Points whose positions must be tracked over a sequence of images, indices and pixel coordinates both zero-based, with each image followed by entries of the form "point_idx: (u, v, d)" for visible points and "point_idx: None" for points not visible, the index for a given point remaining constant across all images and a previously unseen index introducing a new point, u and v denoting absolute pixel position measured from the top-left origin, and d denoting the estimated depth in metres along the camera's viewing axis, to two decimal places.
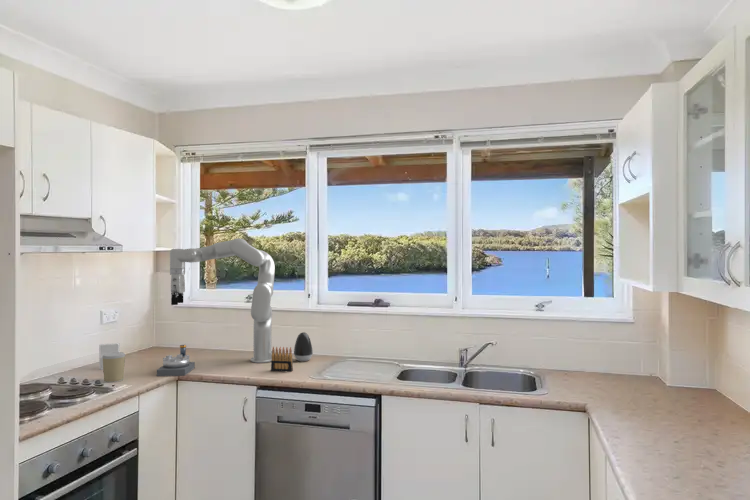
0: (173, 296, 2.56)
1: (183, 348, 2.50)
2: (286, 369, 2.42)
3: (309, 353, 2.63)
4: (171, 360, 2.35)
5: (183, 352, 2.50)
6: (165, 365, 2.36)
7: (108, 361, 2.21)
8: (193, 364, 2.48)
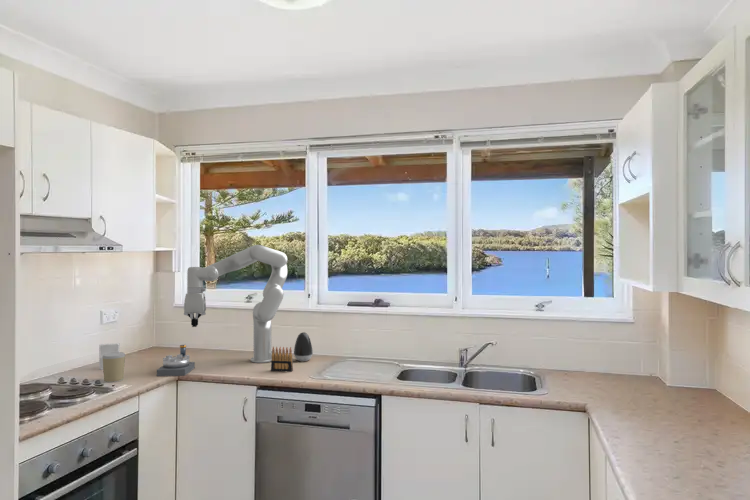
0: (198, 317, 2.52)
1: (183, 348, 2.50)
2: (286, 369, 2.42)
3: (309, 353, 2.63)
4: (171, 360, 2.35)
5: (183, 352, 2.50)
6: (165, 365, 2.36)
7: (108, 361, 2.21)
8: (193, 364, 2.48)
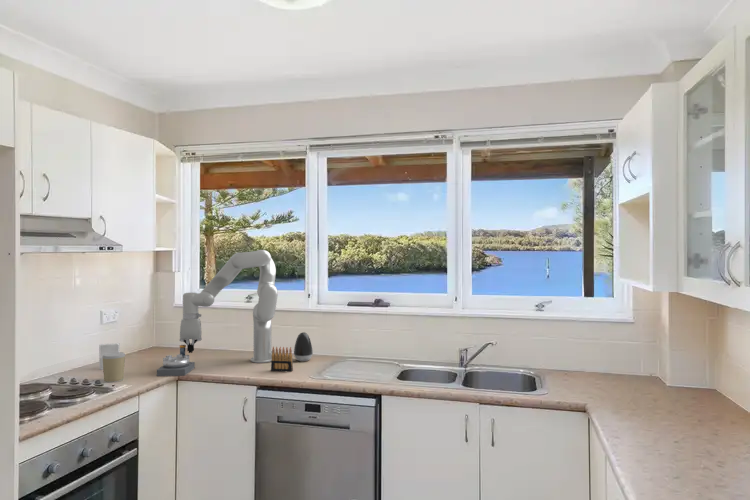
0: (194, 343, 2.52)
1: (183, 348, 2.50)
2: (286, 369, 2.42)
3: (309, 353, 2.63)
4: (171, 360, 2.35)
5: (183, 352, 2.50)
6: (165, 365, 2.36)
7: (108, 361, 2.21)
8: (193, 364, 2.48)
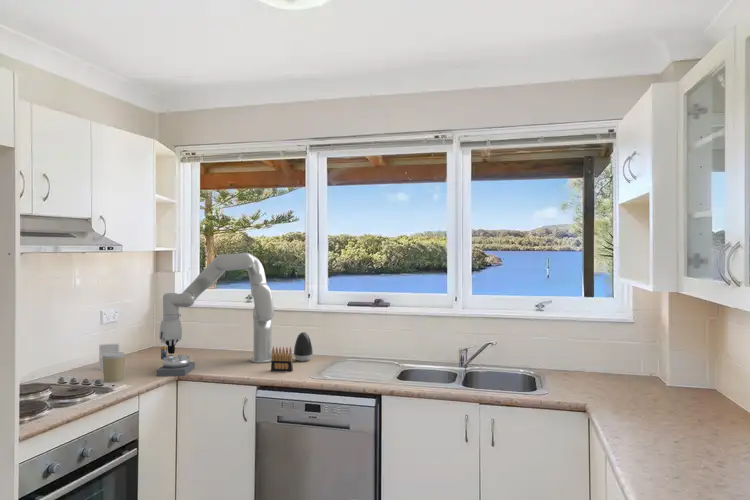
0: None
1: (166, 349, 2.47)
2: (286, 369, 2.42)
3: (309, 353, 2.63)
4: (182, 359, 2.37)
5: (166, 354, 2.47)
6: (175, 365, 2.35)
7: (108, 361, 2.21)
8: (193, 364, 2.48)
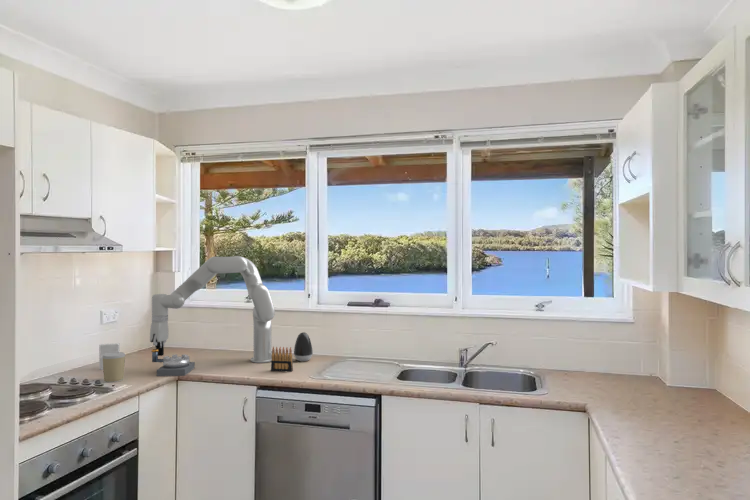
0: None
1: (157, 352, 2.41)
2: (286, 369, 2.42)
3: (309, 353, 2.63)
4: (188, 358, 2.40)
5: (157, 356, 2.41)
6: (183, 364, 2.37)
7: (108, 361, 2.21)
8: (193, 364, 2.48)
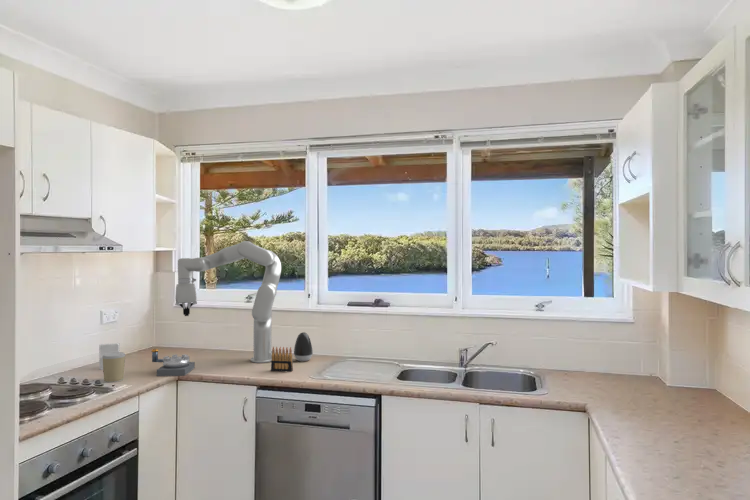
0: None
1: (157, 352, 2.41)
2: (286, 369, 2.42)
3: (309, 353, 2.63)
4: (188, 358, 2.40)
5: (157, 356, 2.41)
6: (183, 364, 2.37)
7: (108, 361, 2.21)
8: (193, 364, 2.48)
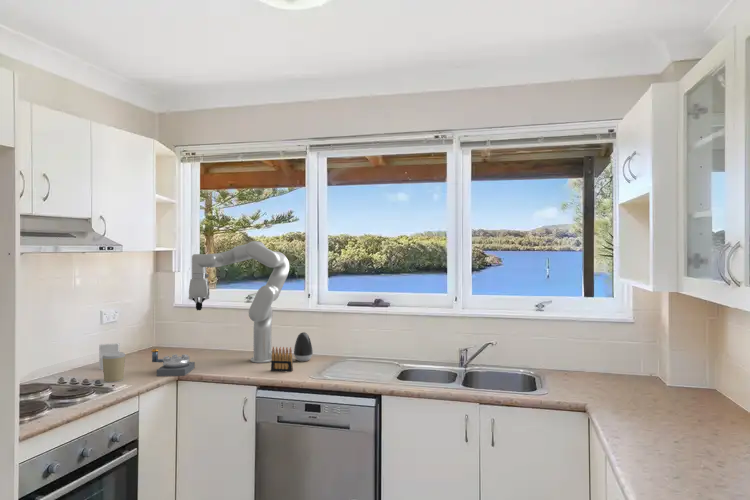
0: (202, 301, 2.68)
1: (157, 352, 2.41)
2: (286, 369, 2.42)
3: (309, 353, 2.63)
4: (188, 358, 2.40)
5: (157, 356, 2.41)
6: (183, 364, 2.37)
7: (108, 361, 2.21)
8: (193, 364, 2.48)
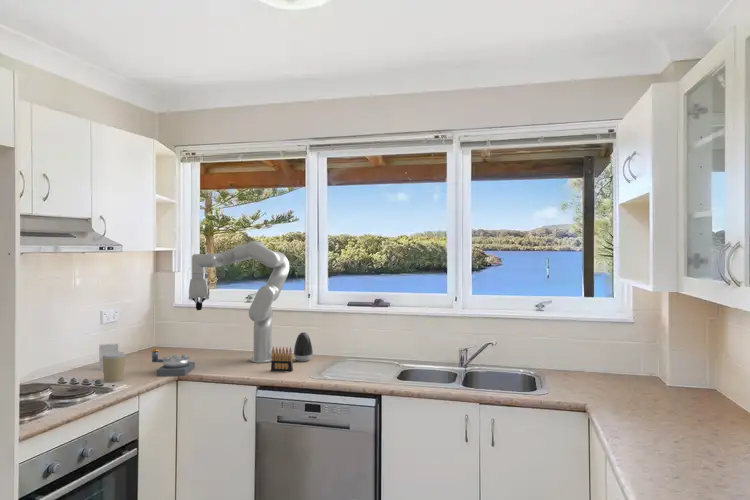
0: (202, 301, 2.68)
1: (157, 352, 2.41)
2: (286, 369, 2.42)
3: (309, 353, 2.63)
4: (188, 358, 2.40)
5: (157, 356, 2.41)
6: (183, 364, 2.37)
7: (108, 361, 2.21)
8: (193, 364, 2.48)
